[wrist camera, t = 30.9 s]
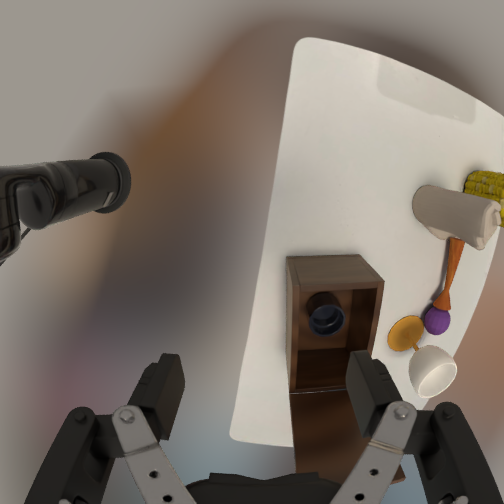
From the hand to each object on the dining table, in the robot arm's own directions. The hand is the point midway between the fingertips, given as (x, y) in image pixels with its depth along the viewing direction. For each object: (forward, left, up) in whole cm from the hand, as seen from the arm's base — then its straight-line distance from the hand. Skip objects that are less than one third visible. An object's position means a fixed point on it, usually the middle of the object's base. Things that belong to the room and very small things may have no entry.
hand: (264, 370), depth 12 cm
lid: (+10, -25, -13) cm, 29 cm away
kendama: (+36, -13, -36) cm, 52 cm away
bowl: (+10, -16, -35) cm, 39 cm away
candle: (+33, +1, -36) cm, 49 cm away
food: (+43, +6, -36) cm, 56 cm away
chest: (+10, -16, -36) cm, 40 cm away
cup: (+29, -25, -36) cm, 52 cm away
